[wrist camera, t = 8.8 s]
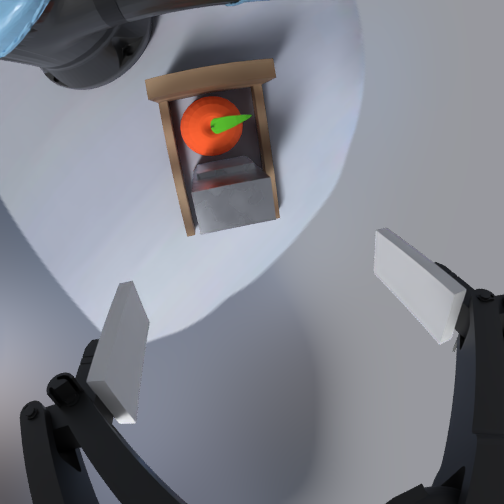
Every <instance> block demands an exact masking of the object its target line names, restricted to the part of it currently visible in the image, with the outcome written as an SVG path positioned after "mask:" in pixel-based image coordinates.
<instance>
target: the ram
mask: <svg viewBox="0 0 504 504" xmlns="http://www.w3.org/2000/svg"><path fill="white" fill-rule="evenodd" d="M191 193H192V198H193V203H194V207H195V212H196V216H197V221H198V225H199V229H200V234H206V233H211V232H216V231H220V230H225V229H230V228H235V227H240V226H245V225H250V224H255V223H260V222H265V221H271V220H276V215H275V207H274V199H273V191H272V183H271V177H270V176H269V175H268V174H266V173H265V172H264V171H263V170H262V169H261V168H260V167H258V166H257V165H256V164H255V163H254V162H253V161H252V160H250V159H249V158H248V157H247V156H240V157H234V158H229V159H223V160H218V161H213V162H208V163H203V164H198V165H197V169H194V173H193V182H192V191H191Z"/></svg>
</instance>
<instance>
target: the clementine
mask: <svg viewBox="0 0 504 504" xmlns="http://www.w3.org/2000/svg"><path fill="white" fill-rule="evenodd" d="M251 116H252V115H241V114H240V112H239V110H238V109H237V108H236V106H235V105H234V104H233V103H231V102H230V101H228V100H227V99H224V98H221V97H217V96H208V97H203V98H200V99H198V100H196V101H194V102H193V103H192V104H191V105H190V106H188V108H187V109H186V111H185V112H184V114H183V117H182V119H181V126H180V129H181V135H182V138H183V140H184V142H185V143H186V144H187V146H188V147H189V148H190V149H191V150H193V151H195V152H196V153H198V154H201V155H204V156H216V155H221V154H223V153H225V152H228V151H229V150H230V149H232V148H233V147H234V146H235V145H236V143H237V142H238V141H239V139H240V136H241V134H242V128H243V122H244V121H245V120H247V119H248V118H250V117H251Z"/></svg>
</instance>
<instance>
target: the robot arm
mask: <svg viewBox="0 0 504 504" xmlns="http://www.w3.org/2000/svg"><path fill="white" fill-rule="evenodd" d="M255 1H268V0H0V60H5V61H11V62H17V63H22V64H28V65H33V66H38V67H40V68H41V70H42V71H43V72H44V74H45V75H46V76H47V77H48V78H49V79H50V80H51V81H52V82H54V83H56V84H57V85H60V86H62V87H66V88H71V89H78V90H86V89H93V88H97V87H100V86H103V85H106V84H108V83H110V82H112V81H114V80H115V79H117V78H119V77H120V76H121V75H123V74H124V73H125V72H126V71H128V70H129V69H130V68H131V67H132V66H133V65H134V64H135V62H136V61H137V60H138V59H139V57H140V56H141V55H142V53H143V51H144V50H145V48H146V46H147V44H148V41H149V38H150V35H151V30H152V17H153V16H157V15H161V14H166V13H171V12H176V11H181V10H187V9H193V8H200V7H207V6H215V5H226V6H235V5H239V4H241V3H244V2H255ZM375 239H376V240H375V258H374V274H375V275H376V276H377V277H378V278H379V279H380V280H381V281H382V282H383V283H384V284H385V285H386V286H387V287H388V288H389V289H390V291H391V292H393V294H394V295H395V296H396V297H397V298H398V299H399V300H400V301H401V302H402V303H403V304H404V305H405V306H406V308H407V309H408V310H409V311H410V312H411V313H412V314H413V315H414V317H415V318H416V319H417V320H418V321H419V322H420V323H421V324H422V325H423V327H424V328H425V329H426V330H427V331H428V332H429V333H430V334H431V336H432V337H433V338H434V339H435V340H436V341H437V343H438V344H439V345H440V344H442V343H444V342H446V341H448V340H450V339H451V338H452V335H453V332H454V329H456V331H458V333H459V335H458V338H457V340H456V343H455V345H454V348H453V351H454V352H455V349H456V348H457V356H456V375H455V385H454V396H453V404H452V411H451V418H450V425H449V431H448V436H447V442H446V447H445V451H444V456H443V461H442V464H441V467H440V470H439V472H438V473H437V475H436V477H435V479H434V482H433V484H432V486H431V487H425V488H424V487H423V485H422V484H420V485H418V486H416V487H414V488H412V489H410V490H409V491H407V492H404V493H402V494H400V495H398V496H396V497H394V498H393V499H392V500H390V501H389V502H387V503H386V504H504V295H498V296H495V295H494V294H493V293H492V292H490V291H488V290H485V289H476V290H474V289H473V288H472V287H470V286H469V285H468V284H467V283H466V282H464V281H463V280H462V279H461V278H459V277H457V275H456V274H455V273H453V272H451V270H449V269H448V268H447V267H446V266H444V265H442V264H439V263H437V262H435V263H434V262H432V261H431V260H430V259H428V258H427V257H426V256H424V255H423V254H422V253H421V252H419V251H418V250H417V249H415V248H414V247H413V246H411V245H410V244H409V243H407V242H406V241H405V240H403V239H402V238H401V237H399V236H397V235H396V234H395V233H394V232H392V231H391V230H389V229H388V228H383V229H379V230H376V237H375ZM149 323H150V322H149V320H148V318H147V315H146V313H145V310H144V308H143V306H142V303H141V301H140V298H139V296H138V293H137V291H136V288H135V286H134V283H133V281H129V282H125V283H120V284H119V286H118V289H117V291H116V294H115V296H114V299H113V302H112V304H111V307H110V310H109V313H108V315H107V318H106V321H105V324H104V327H103V330H102V333H101V336H100V339H96V340H92V341H91V342H90V343H89V344H88V346H87V347H86V348H85V351H84V354H83V358H82V360H81V363H80V364H81V365H80V366H79V369H78V372H77V375H76V378H74V376H73V375H71V374H70V373H61V374H58V375H56V376H55V377H54V378H53V379H52V380H51V381H50V382H49V384H48V386H47V395H48V396H49V397H50V398H51V399H52V401H54V403H55V405H51V406H48V407H44V406H43V405H42V404H41V403H40V402H39V401H32V402H29V403H27V404H26V405H25V406H24V407H23V409H22V411H21V414H20V426H21V436H22V446H23V453H24V460H25V466H26V473H27V477H28V483H29V488H30V493H31V497H32V500H33V504H99V502H98V500H97V497H96V495H95V492H94V490H93V487H92V484H91V481H90V479H89V476H88V473H87V470H86V467H85V464H84V461H83V458H82V455H81V452H80V449H79V448H80V447H81V448H82V449H83V451H84V452H85V454H86V455H87V457H88V458H89V460H90V461H91V463H92V464H93V466H94V467H95V469H96V470H97V472H98V473H99V475H100V476H101V477H102V479H103V480H104V481H105V483H106V484H107V486H108V487H109V488H110V490H111V491H112V492H113V493H114V495H115V496H116V497H117V498H118V500H119V501H120V502H121V503H122V504H187V503H186V502H185V501H184V500H183V499H181V498H180V497H179V496H178V495H177V494H176V493H175V492H174V491H173V490H172V489H171V488H170V487H169V486H168V485H167V484H165V483H164V482H163V481H162V480H161V479H160V478H159V477H158V476H157V475H156V474H155V473H154V471H153V470H152V469H151V468H150V467H149V466H148V465H147V464H146V463H145V462H144V461H143V460H142V459H141V458H140V456H139V455H138V454H137V453H136V452H135V451H134V450H133V449H132V448H131V446H130V445H129V444H128V443H127V442H126V440H125V439H124V438H123V437H122V435H121V434H120V433H119V432H118V431H117V429H116V428H115V427H114V426H113V425H112V421H113V417H114V418H115V419H116V420H117V421H118V422H119V423H120V424H125V423H136V420H137V410H138V400H139V392H140V384H141V376H142V367H143V361H144V354H145V348H146V341H147V335H148V329H149Z"/></svg>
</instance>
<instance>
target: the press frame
mask: <svg viewBox="0 0 504 504" xmlns="http://www.w3.org/2000/svg"><path fill="white" fill-rule="evenodd" d="M274 78H276V74H275V67H274V61H273V58H270V59H259V60H249V61H240V62H232V63H225V64H218V65H212V66H206V67H200V68H195V69H190V70H185V71H180V72H175V73H171V74H167V75H162V76H158V77H154V78H150V79H147V80H145V83H146V89H147V95H148V100H151V101H154V102H157V103H159V108H160V114H161V119H162V125H163V130H164V135H165V140H166V145H167V150H168V155H169V159H170V164H171V169H172V173H173V178H174V182H175V187H176V191H177V195H178V200H179V204H180V208H181V213H182V217H183V221H184V225H185V229H186V233H187V237H188V236H192V235H195V226H194V222H193V218H192V213H191V209H190V205H189V200H188V196H187V191H186V186H185V182H184V177H183V172H182V168H181V163H180V158H179V153H178V148H177V143H176V138H175V133H174V128H173V122H172V117H171V111H170V106H169V102H170V101H174V100H178V99H183V98H188V97H193V96H198V95H203V94H208V93H214V92H220V91H226V90H233V89H240V88H247V87H250V88H251V94H252V101H253V107H254V113H255V120H256V127H257V133H258V140H259V147H260V154H261V161H262V168H263V171H264V172H265V173H266V174H268V175H269V176H270V177H271V183H272V191H273V199H274V207H275V215H276V218H280V215H279V207H278V199H277V191H276V183H275V175H274V167H273V160H272V152H271V145H270V138H269V131H268V124H267V117H266V110H265V103H264V97H263V90H262V84H264V83H266V82H268V81H270V80H272V79H274Z"/></svg>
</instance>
